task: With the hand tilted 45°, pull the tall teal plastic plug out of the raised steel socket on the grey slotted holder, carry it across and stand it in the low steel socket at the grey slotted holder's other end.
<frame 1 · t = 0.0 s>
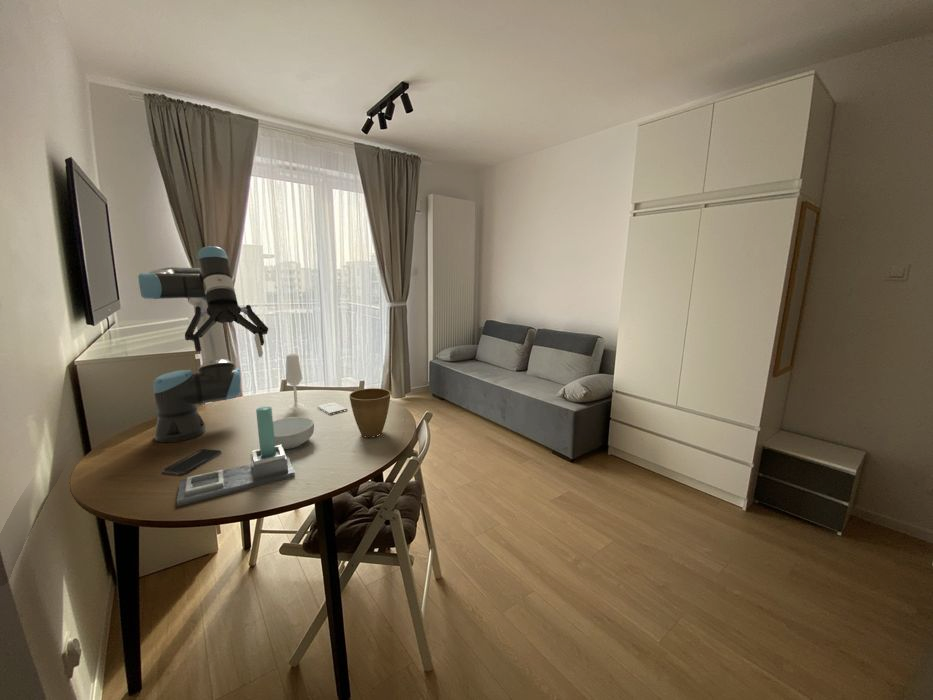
hand: (233, 358, 106), 36 cm above the table, tool tilted 35°, fingers open, 13 cm apart
grey slotted holder: (239, 480, 110), on the table
plant pot: (371, 434, 144), on the table
plug: (268, 456, 113), point 5 cm above the table, touching grey slotted holder
champagne flute: (296, 406, 172), on the table
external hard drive: (332, 410, 169), on the table
cereal bowl: (289, 444, 134), on the table
phone: (194, 463, 120), on the table
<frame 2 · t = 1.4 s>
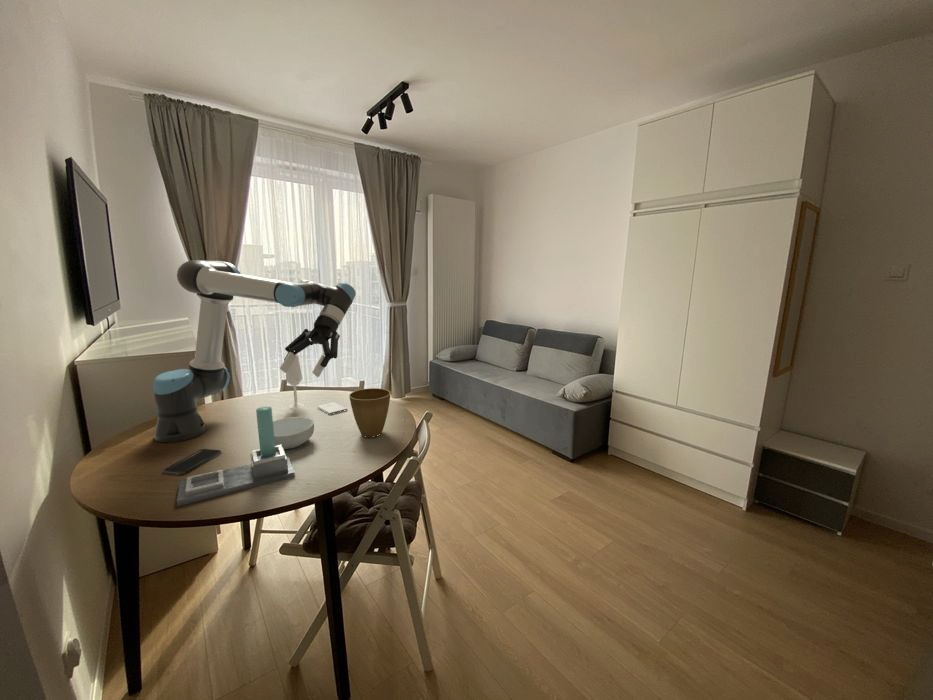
hand: (298, 372, 121), 28 cm above the table, tool tilted 45°, fingers open, 13 cm apart
nothing on the table moved.
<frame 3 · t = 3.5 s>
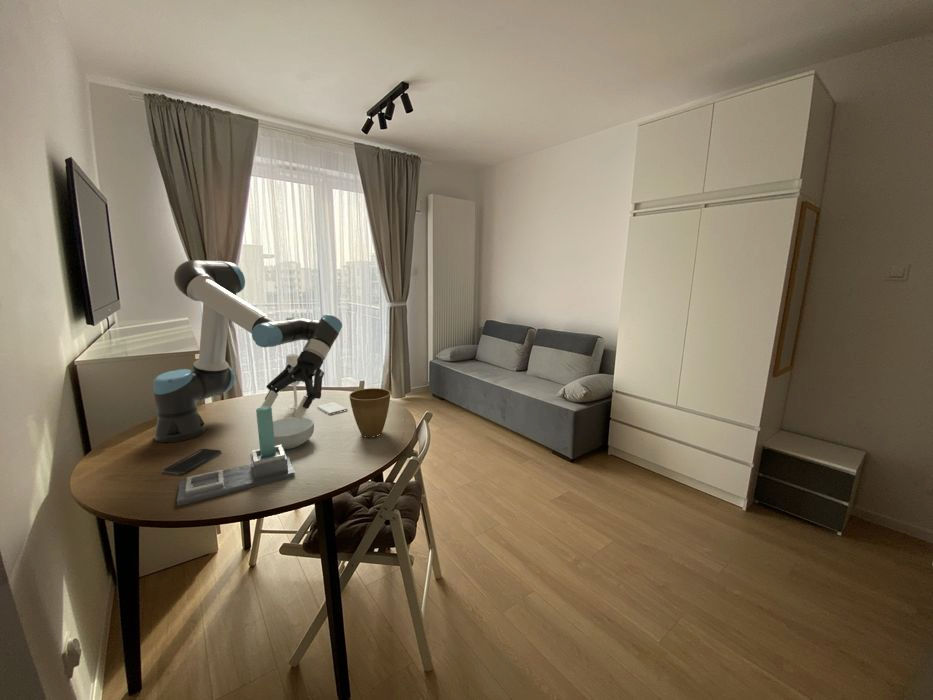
hand: (280, 414, 114), 17 cm above the table, tool tilted 45°, fingers open, 13 cm apart
nothing on the table moved.
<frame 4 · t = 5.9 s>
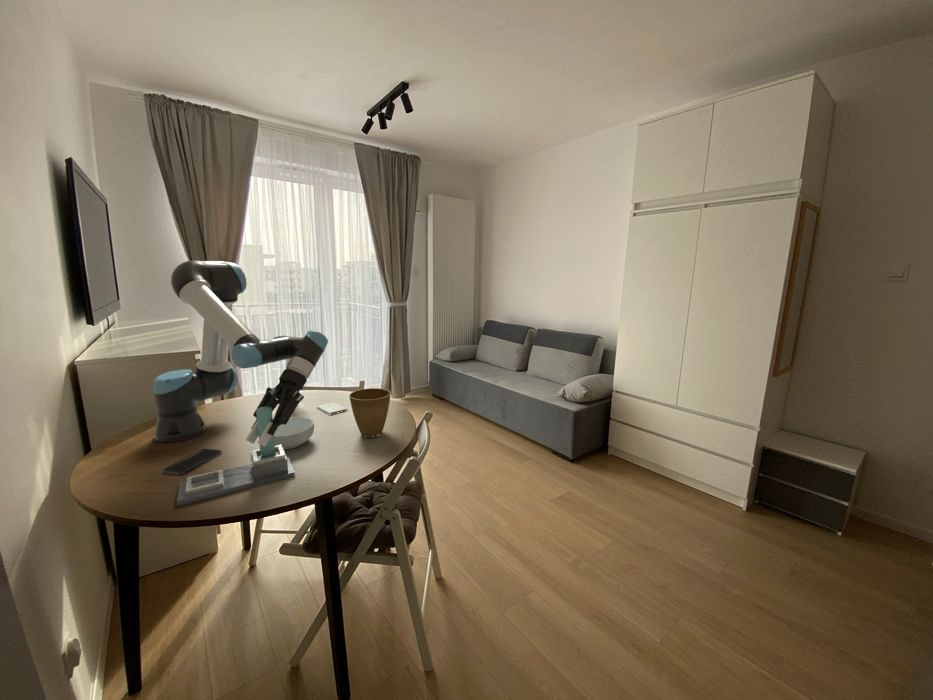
hand: (255, 443, 109), 11 cm above the table, tool tilted 45°, fingers closed on plug, 4 cm apart
plug: (268, 456, 113), point 6 cm above the table, touching grey slotted holder, gripper
everything else where it was.
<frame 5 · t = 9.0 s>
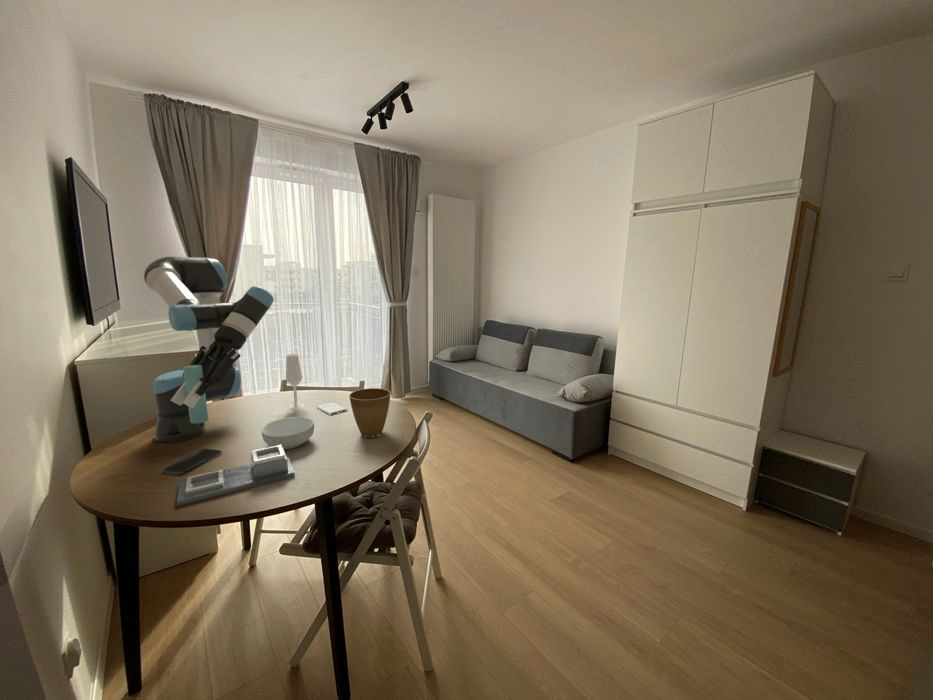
hand: (181, 404, 98), 26 cm above the table, tool tilted 45°, fingers closed on plug, 4 cm apart
plug: (199, 420, 102), point 20 cm above the table, touching gripper
everything else where it was.
when the fingers open (8 cm above the table, at t = 12.0 s): plug stays where it is, resting on grey slotted holder.
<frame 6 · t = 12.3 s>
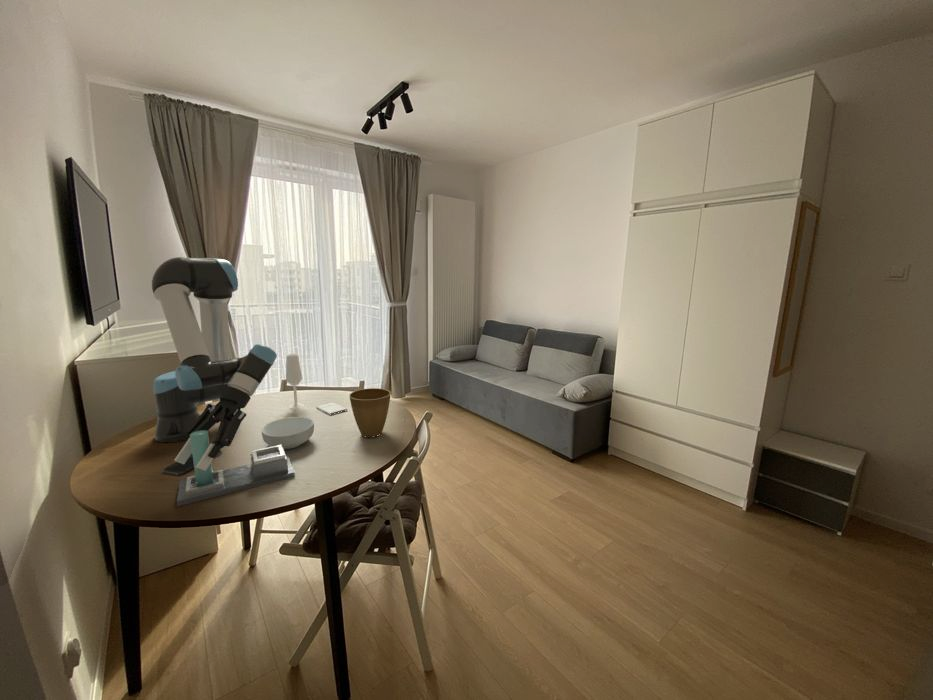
hand: (189, 465, 101), 9 cm above the table, tool tilted 45°, fingers open, 8 cm apart
plug: (205, 483, 106), point 2 cm above the table, touching grey slotted holder
everything else where it was.
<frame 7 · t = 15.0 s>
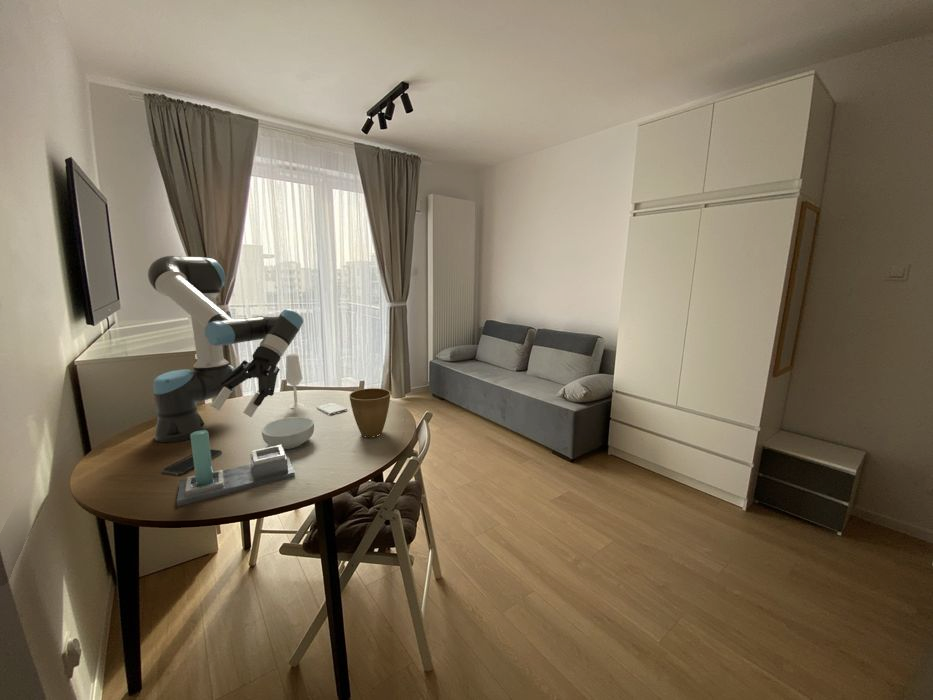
hand: (230, 411, 111), 20 cm above the table, tool tilted 45°, fingers open, 13 cm apart
nothing on the table moved.
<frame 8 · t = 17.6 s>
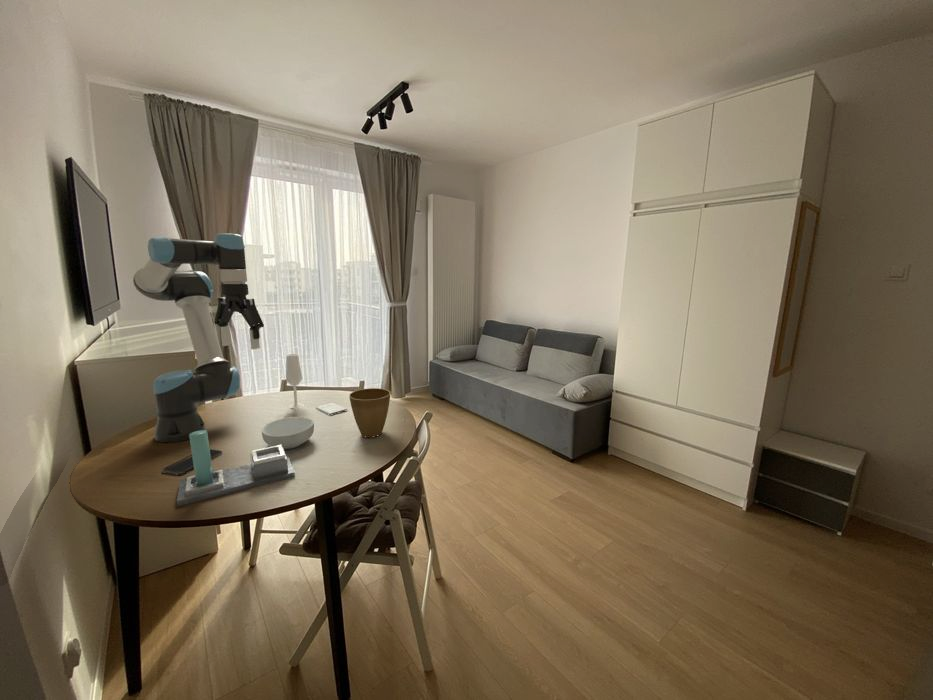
hand: (241, 347, 128), 35 cm above the table, tool pointing down, fingers open, 13 cm apart
nothing on the table moved.
at the end: plug 0.1 cm from the target spot, point 1.5 cm above the table; plug tilted 1°; the gripper is holding nothing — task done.
